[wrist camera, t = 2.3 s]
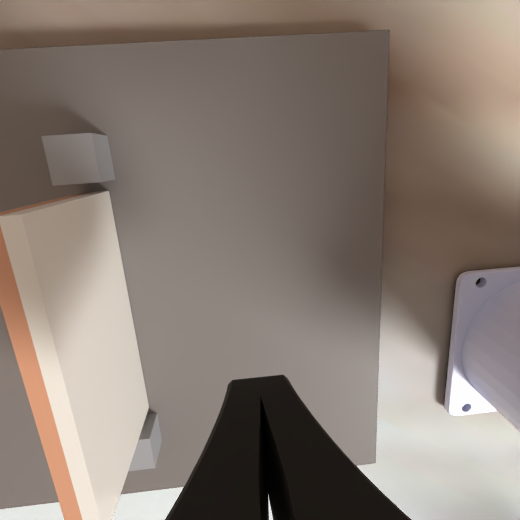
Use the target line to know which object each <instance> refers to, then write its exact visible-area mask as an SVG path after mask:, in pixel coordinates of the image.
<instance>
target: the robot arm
mask: <svg viewBox="0 0 520 520" xmlns="http://www.w3.org/2000/svg"><path fill="white" fill-rule="evenodd" d="M479 278H481V281H480V283H478V284H477V285H476V281H477V280H478V279H479ZM464 404H465V405H464ZM463 405H464V406H463ZM444 407H445V409H446V411H447V412H448V413H449V414H450V415H452V416H460V415H469V414H477V413H486V412H495V411H498V412H499V413H500V414H501V415H502V416H503V417H504V418H505V419H506V420H507V421H509V422H510V423H511V424H512V425H513V426H514V427H515V428H516V429H517V430H518V431H519V432H520V266H519V267H508V268H498V269H487V270H476V271H467V272H463V273H462V274H460V275H459V277H458V278H457V281H456V289H455V300H454V310H453V320H452V331H451V341H450V352H449V362H448V372H447V383H446V393H445V404H444ZM268 495H269V500H270V505H271V510H272V515H273V520H411V519H410V518H409V517H408V516H407V515H405V514H404V513H403V512H402V511H401V510H400V509H399V508H398V507H397V506H396V505H395V504H394V503H393V502H392V501H391V500H389V499H388V498H387V497H386V496H385V495H384V494H383V493H382V492H381V491H380V490H379V489H378V488H377V487H376V486H375V485H374V484H373V483H372V482H371V481H370V480H369V479H368V478H367V477H366V476H365V475H364V474H363V473H362V472H361V471H360V470H359V468H358V467H357V466H356V465H355V464H354V463H353V462H352V461H351V460H350V459H349V458H348V457H347V456H346V454H345V453H344V452H343V451H342V450H341V449H340V448H339V447H338V445H337V444H336V443H335V442H334V441H333V440H332V438H331V437H330V436H329V435H328V434H327V432H326V431H325V430H324V429H323V427H322V426H321V425H320V424H319V423H318V421H317V420H316V419H315V418H314V416H313V415H312V414H311V412H310V411H309V410H308V408H307V407H306V406H305V404H304V403H303V401H302V400H301V399H300V397H299V396H298V394H297V393H296V391H295V390H294V388H293V386H292V385H291V383H290V381H289V380H288V378H287V377H285V376H284V375H274V376H265V377H255V378H246V379H237V380H232V381H231V382H230V383H229V384H228V387H227V391H226V395H225V398H224V401H223V404H222V407H221V410H220V412H219V415H218V417H217V420H216V422H215V425H214V427H213V429H212V431H211V434H210V436H209V438H208V440H207V443H206V445H205V447H204V449H203V451H202V453H201V456H200V457H199V459H198V461H197V463H196V465H195V467H194V469H193V471H192V473H191V475H190V477H189V479H188V480H187V482H186V484H185V486H184V488H183V490H182V492H181V493H180V495H179V497H178V499H177V500H176V502H175V504H174V506H173V507H172V509H171V511H170V512H169V514H168V516H167V517H166V519H165V520H269V512H268Z"/></svg>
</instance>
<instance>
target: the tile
mask: <svg viewBox="0 0 520 520" xmlns="http://www.w3.org/2000/svg"><path fill="white" fill-rule="evenodd" d="M0 305H1V309H2V312H3V315H4V319H5V322H6V325H7V329H8V332H9V335H10V339H11V342H12V345H13V349H14V352H15V355H16V359H17V362H18V365H19V369H20V372H21V376H22V379H23V382H24V386H25V389H26V392H27V396H28V399H29V402H30V406H31V409H32V412H33V416H34V419H35V422H36V426H37V429H38V433H39V436H40V439H41V443H42V446H43V449H44V453H45V456H46V459H47V463H48V466H49V469H50V473H51V476H52V479H53V483H54V486H55V490H56V493H57V496H58V500H59V503H60V506H61V510H62V513H63V516H64V520H112V519H113V516H114V513H115V510H116V507H117V504H118V501H119V498H120V495H121V492H122V489H123V485H124V482H125V479H126V476H127V473H128V470H129V467H130V464H131V461H132V458H133V455H134V452H135V449H136V446H137V443H138V440H139V436H140V433H141V430H142V427H143V424H144V421H145V418H146V415H147V412H148V409H149V404H148V399H147V393H146V388H145V383H144V377H143V372H142V366H141V361H140V356H139V350H138V345H137V339H136V334H135V329H134V323H133V318H132V313H131V307H130V302H129V296H128V291H127V286H126V280H125V275H124V269H123V264H122V259H121V253H120V248H119V243H118V237H117V232H116V226H115V221H114V216H113V210H112V205H111V199H110V194H109V191H98V192H84V193H79V194H75V195H70V196H66V197H62V198H58V199H53V200H49V201H45V202H41V203H37V204H32V205H28V206H24V207H20V208H15V209H11V210H7V211H3V212H0Z"/></svg>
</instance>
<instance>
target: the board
mask: <svg viewBox="0 0 520 520" xmlns="http://www.w3.org/2000/svg"><path fill="white" fill-rule="evenodd" d="M388 61H389V30H378V31H358V32H339V33H319V34H299V35H279V36H259V37H239V38H219V39H200V40H180V41H160V42H140V43H120V44H100V45H80V46H61V47H41V48H21V49H1V50H0V212H3V211H7V210H11V209H15V208H20V207H24V206H28V205H32V204H37V203H41V202H45V201H49V200H53V199H58V198H62V197H66V196H70V195H75V194H79V193H84V192H98V191H109V194H110V199H111V205H112V210H113V216H114V221H115V226H116V232H117V237H118V243H119V248H120V253H121V259H122V264H123V269H124V275H125V280H126V286H127V291H128V296H129V302H130V307H131V313H132V318H133V323H134V329H135V334H136V339H137V345H138V350H139V356H140V361H141V366H142V372H143V377H144V383H145V388H146V393H147V399H148V404H149V409H148V412H147V415H146V418H145V421H144V424H143V427H142V430H141V433H140V436H139V440H138V443H137V446H136V449H135V452H134V455H133V458H132V461H131V464H130V467H129V470H128V473H127V476H126V479H125V482H124V485H123V489H122V492H121V494H128V493H136V492H144V491H152V490H160V489H168V488H177V487H184V486H185V484H186V482H187V480H188V479H189V477H190V475H191V473H192V471H193V469H194V467H195V465H196V463H197V461H198V459H199V457H200V456H201V453H202V451H203V449H204V447H205V445H206V443H207V440H208V438H209V436H210V434H211V431H212V429H213V427H214V425H215V422H216V420H217V417H218V415H219V412H220V410H221V407H222V404H223V401H224V398H225V395H226V391H227V387H228V384H229V383H230V382H231V381H232V380H237V379H246V378H255V377H265V376H274V375H284V376H285V377H287V378H288V380H289V381H290V383H291V385H292V386H293V388H294V390H295V391H296V393H297V394H298V396H299V397H300V399H301V400H302V401H303V403H304V404H305V406H306V407H307V408H308V410H309V411H310V412H311V414H312V415H313V416H314V418H315V419H316V420H317V421H318V423H319V424H320V425H321V426H322V427H323V429H324V430H325V431H326V432H327V434H328V435H329V436H330V437H331V438H332V440H333V441H334V442H335V443H336V444H337V445H338V447H339V448H340V449H341V450H342V451H343V452H344V453H345V454H346V456H347V457H348V458H349V459H350V460H351V461H352V462H353V463H354V464H355V465H364V464H372V463H376V432H377V401H378V370H379V339H380V308H381V277H382V246H383V216H384V185H385V154H386V123H387V92H388ZM54 502H59V500H58V496H57V493H56V490H55V486H54V483H53V479H52V476H51V473H50V469H49V466H48V463H47V459H46V456H45V453H44V449H43V446H42V443H41V439H40V436H39V433H38V429H37V426H36V422H35V419H34V416H33V412H32V409H31V406H30V402H29V399H28V396H27V392H26V389H25V386H24V382H23V379H22V376H21V372H20V369H19V365H18V362H17V359H16V355H15V352H14V349H13V345H12V342H11V339H10V335H9V332H8V329H7V325H6V322H5V319H4V315H3V312H2V309H1V305H0V509H5V508H13V507H21V506H30V505H38V504H46V503H54Z"/></svg>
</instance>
